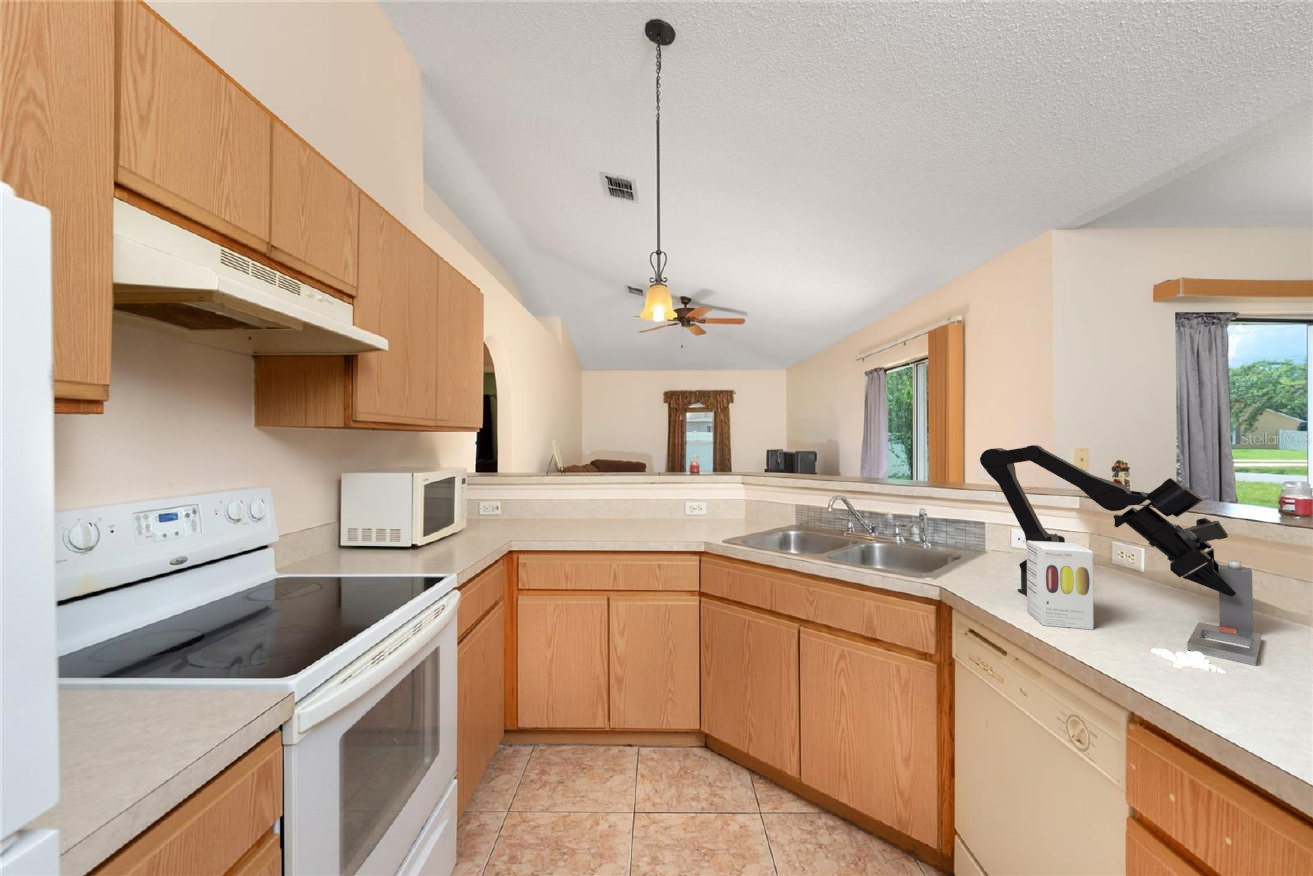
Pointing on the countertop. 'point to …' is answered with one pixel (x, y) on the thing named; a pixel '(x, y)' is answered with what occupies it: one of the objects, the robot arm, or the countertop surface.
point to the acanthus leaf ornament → (1188, 659)
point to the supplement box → (1060, 584)
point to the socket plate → (1225, 649)
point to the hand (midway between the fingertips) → (1233, 590)
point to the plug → (1236, 597)
